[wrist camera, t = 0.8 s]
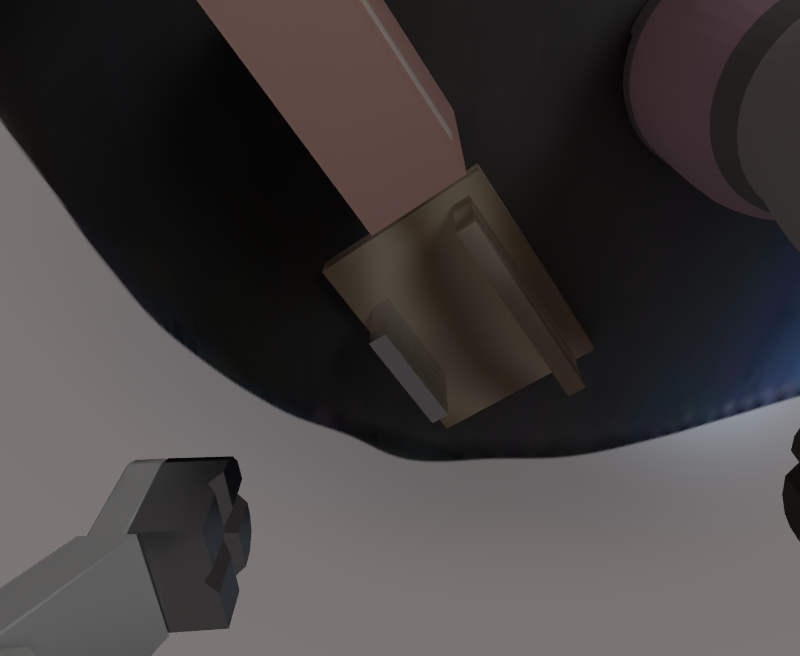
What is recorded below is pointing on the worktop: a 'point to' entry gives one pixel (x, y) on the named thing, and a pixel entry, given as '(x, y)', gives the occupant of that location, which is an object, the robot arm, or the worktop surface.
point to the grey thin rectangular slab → (409, 360)
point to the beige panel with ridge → (467, 295)
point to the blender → (722, 100)
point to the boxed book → (350, 97)
